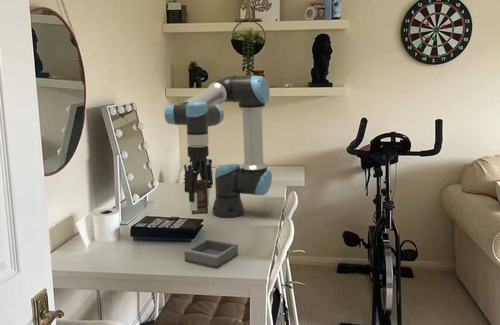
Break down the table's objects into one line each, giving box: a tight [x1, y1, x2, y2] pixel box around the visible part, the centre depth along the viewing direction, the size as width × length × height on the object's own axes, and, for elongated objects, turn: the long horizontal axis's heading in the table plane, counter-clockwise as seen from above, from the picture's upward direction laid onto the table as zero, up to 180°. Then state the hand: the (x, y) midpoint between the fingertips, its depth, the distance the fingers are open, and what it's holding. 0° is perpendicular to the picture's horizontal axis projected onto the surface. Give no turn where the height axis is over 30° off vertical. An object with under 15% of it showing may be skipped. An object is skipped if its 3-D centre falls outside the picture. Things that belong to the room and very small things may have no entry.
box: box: [191, 179, 209, 215], centre depth 182 cm, size 6×4×12 cm
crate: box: [183, 237, 239, 269], centre depth 183 cm, size 14×14×4 cm
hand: (199, 207), depth 182 cm, fingers closed on box, 7 cm apart
